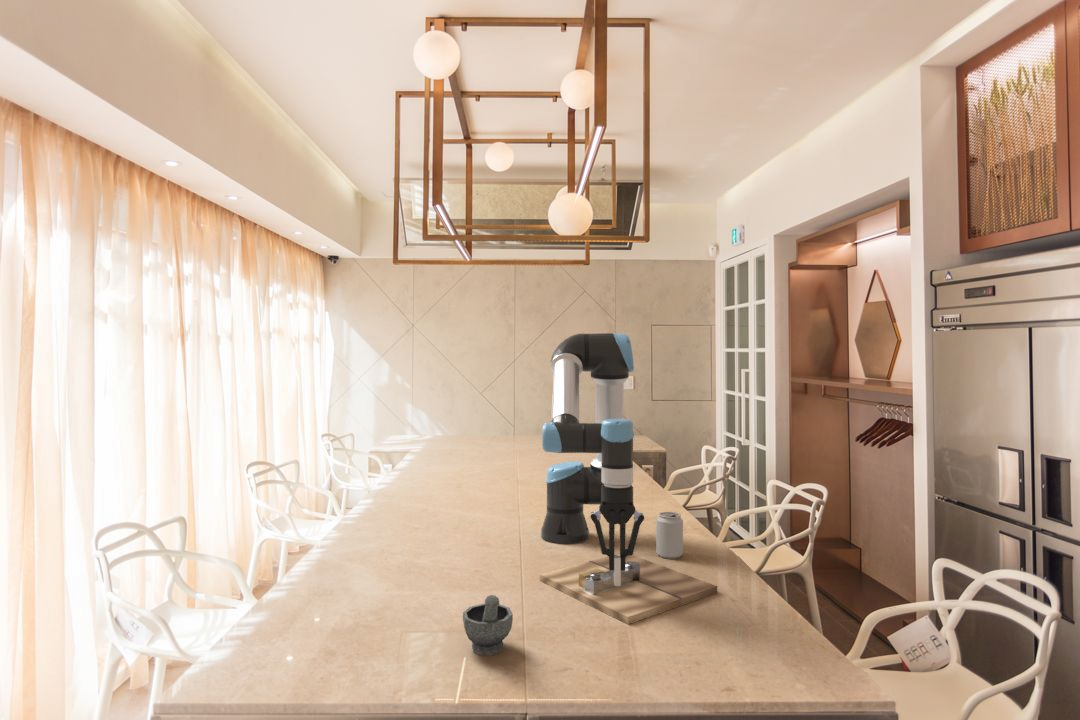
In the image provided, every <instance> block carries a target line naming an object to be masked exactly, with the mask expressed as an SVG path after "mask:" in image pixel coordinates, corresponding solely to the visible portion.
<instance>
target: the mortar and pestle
mask: <svg viewBox="0 0 1080 720" xmlns="http://www.w3.org/2000/svg"><path fill="white" fill-rule="evenodd" d="M462 622H463V628H464V631H465V634H466V636H467V638H468V640H469V641H470V642H472V643H471V649H472V652H473V653H475V654H476V655H479V656H494V655H497V654H500V653H501V652H502V651H503V650H504V640H505V639H506V638H507V636H508V635H509V633H510V632H511V630H512V626H513V622H514V621H513V612H512V610H511V607H508V606H505V605H502V604H501V603H500V600H499V597H498V596H496V595H494V594H493V595H492V594H490V595H488V596H486V597H485V599H484V603H480V604H476V605H472V606H471V605H470V606H469V607H468V608H466V610H464V611H463V612H462Z"/></svg>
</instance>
